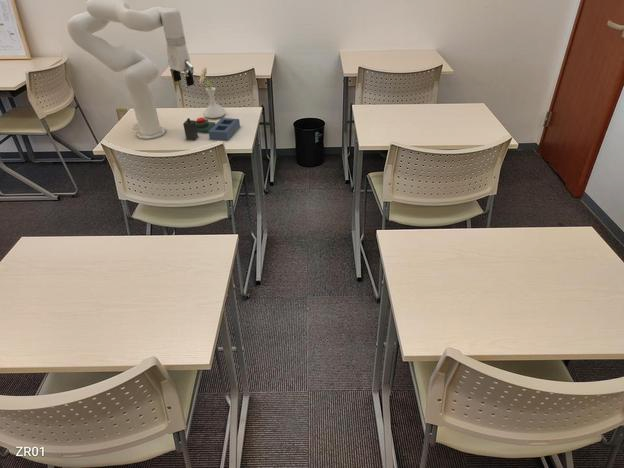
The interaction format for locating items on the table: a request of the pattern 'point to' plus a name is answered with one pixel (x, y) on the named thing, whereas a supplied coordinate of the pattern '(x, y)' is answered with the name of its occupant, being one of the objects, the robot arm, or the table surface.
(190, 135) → the charger
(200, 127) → the switch box
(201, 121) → the power button
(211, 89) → the flower in vase
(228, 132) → the blue tray
